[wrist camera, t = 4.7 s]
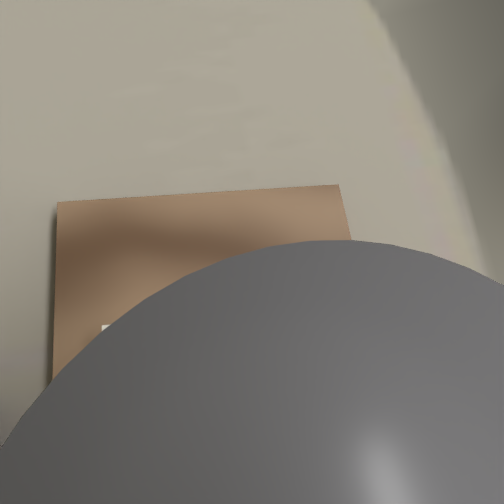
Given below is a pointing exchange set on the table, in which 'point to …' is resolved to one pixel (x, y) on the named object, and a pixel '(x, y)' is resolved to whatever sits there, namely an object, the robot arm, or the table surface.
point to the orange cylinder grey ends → (281, 389)
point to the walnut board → (168, 247)
